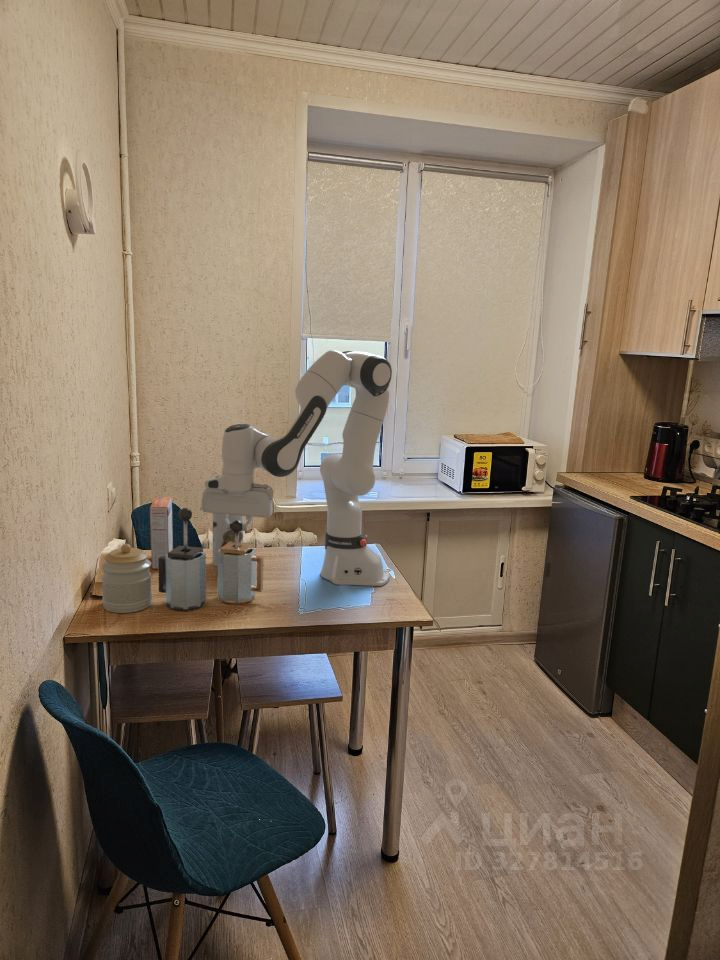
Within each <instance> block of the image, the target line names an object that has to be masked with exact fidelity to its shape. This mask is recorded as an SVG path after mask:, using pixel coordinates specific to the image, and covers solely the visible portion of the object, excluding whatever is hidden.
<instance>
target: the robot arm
mask: <svg viewBox="0 0 720 960" xmlns="http://www.w3.org/2000/svg"><path fill="white" fill-rule="evenodd" d="M392 373H393V370H392V365H391V363H390V362H389V360H387V359H386V358H385V357H383V356H381V355H379V354H372V353H370V352H365V351H351V350H347V351H346V350H345V351H338V350H333V349H331V350H327V351H326V352H325V353H323V354H322V355H321V356H320V357H318V358H317V359H316V361H315V362H313V364H311V366H309V368H308V369H307V370H306V371H305V373H304V374H303V375H302V376H301V378H300V380H299V381H298V383H297V384H296V387H295V391H294V392H295V398H296V401H297V403H298V404H299V406H300V411H299V414H298V415H297V417H296V418H295V420H294V422H292V424H291V426H290V427H289V429H288V430H287V432H286V433H285V434H284V435H283V436H281V437H280V438H278V437H275V436H272V435H269V434H267V433H264V432H261V431H259V430H258V429H256V428H255V427H253V426H252V425H251V424H248V423H238V424H234V425H230V426H229V427H226V429H225V430H224V432H223V436H222V444H221V445H222V447H221V459H222V462H223V463H222V468H221V474H220V475H216V476H213V477H211V478H209V479H207V480H205V481H204V487H205V488H204V490H203V491H202V495H201V507H200V508H201V510H202V511H203V512H204V513H210V514H213V513H218V514H221V518H222V519H223V521H224V523H225V529H230V530H231V524H232V522H229V520H228V518H227V516H229V515H240V516H244V517H245V520H246V523H244V524H243V525H242V531H243V532H248V531H249V529H250V524H251V522H252V520H253V519H254V518H263V519H264V518H265V519H268V518H270V516H272V515H273V513H274V507H273V506H274V505H273V498H274V489H273V488H272V487H271V486H270V485H269V484H265V483H264V484H261V483H260V484H259V483H254V478H255V477H254V475H255V474H254V473H255V472H254V471H255V469H256V468H260V469H262V470H264V471H266V472H268V473H269V474H271V475H272V476H274V477H278V478H282V477H287V476H290V475H291V474H292V473H294V472H295V470H296V469H297V468H298V466H299V463H300V461H301V457H302V454H303V452H304V449H305V447H306V446H307V445H308V442H309V441H310V440H311V438H312V437H313V434H314V433H315V432H316V431H317V429H318V427H319V425H320V424H321V422H322V421H323V419H324V417H325V415H326V413H327V410H328V407H329V406H330V404H331V402H332V401H333V400H334V398H335V397H336V396H337V394H338V393H339V392H340V391H341V389H342V387H344V386H348V387H351V388H353V389H355V398H354V401H353V403H352V404H351V406H350V407H351V408H350V411H349V413H348V416H347V418H346V422H345V424H344V427H343V430H342V433H341V434H342V440H343V441H342V442H343V447H342V453H332V454H328V455H326V456H325V457H324V458H323V459H322V461H321V462H320V466H319V473H320V475H321V478H322V481H323V487H324V488H323V489H324V492H325V493H324V495H325V500H326V507H327V512H326V513H327V517H326V518H327V519H326V520H327V521H326V522H327V523H326V531H325V534H324V550H325V551H324V552H325V553H324V558H323V564H322V567H321V570H320V574H319V575H320V576H321V577H322V578H323V579H326V580H327V581H330V582H331V583H332V584H334V585H340V586H341V585H342V586H343V585H344V586H370V587H371V586H372V587H373V586H374V587H375V586H376V587H377V586H378V587H380V586H383V585H385V584H387V583H388V582H389V580H390V572H389V570H387V569H386V568H385V569H384V564H383V559H382V558H381V556H380V555H379V554H378V553H377V552H375V551H374V550H373V549H372V548H370V546H369V545H368V535H367V534H365V535H364V534H363V533H362V521H363V520H362V519H363V511H362V510H363V509H362V506H361V504H360V500H359V497H361V496H362V497H363V496H366V495H367V494H369V493H371V491H372V490H373V489H374V486H375V483H376V475H375V472H374V458H375V450H376V445H377V442H378V438H379V435H380V433H381V430H382V427H383V424H384V421H385V418H386V414H387V411H388V405H389V401H390V391H389V390H388V389H389V387H390V383H391V380H392V375H393V374H392Z"/></svg>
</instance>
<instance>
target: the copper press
mask: <svg viewBox="0 0 720 960" xmlns="http://www.w3.org/2000/svg"><path fill="white" fill-rule="evenodd" d="M256 553H257V549H255V547H254V543H250V542H249V543H247V542H243V543H240V542H239V548H237V547H235V542H228V543H227V544H226V545H224V546H223V547H222V548H220V549H219V550H218V567H217V571H218V577H217V598H218V599H219V600H218V599H217V600H218V601H219V602H220V601H221V602H220V603H222V602H223V603H222V604H225V603H226V605H230V604H240V605H245V604H249V603H252V602H253V601H254V600H255V599H256V592H257V593H261V592H262V591H263V590H264V556H261V555H257V554H256ZM235 554H239V555H235Z"/></svg>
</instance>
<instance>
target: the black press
mask: <svg viewBox="0 0 720 960" xmlns="http://www.w3.org/2000/svg"><path fill="white" fill-rule="evenodd" d="M187 548H188V552H184V545H178V546H176V547H175V548H173V550H172V551H170V552H169V553H168V554H166V556H161V557H160V558H158V565H159V569H158V593H162V594H165V603H166V607H167V608H168V609H171V610H173V611H178V612H189V611H188V610H191V611H195V610H194V609H196V610H198V608H199V609H201V608H203V607H204V606H205V604H206V600H207V599H206V597H207V596H206V595H207V594H206V591H207V590H206V583H207V581H206V578H207V576H206V574H207V573H206V571H207V569H206V567H207V566H206V561H207V560H206V557H207V555H206V554H207V553H205V552H204V547H198V546H196V547H195V546H189V545H187ZM184 559H188V560H184ZM203 605H204V606H203ZM202 606H203V607H202ZM200 607H201V608H200Z"/></svg>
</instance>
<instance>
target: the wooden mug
mask: <svg viewBox="0 0 720 960" xmlns="http://www.w3.org/2000/svg"><path fill="white" fill-rule="evenodd" d="M242 539H243V540H244V533H243V534H242V533H241V532H240V533H239V542H240V543H241V540H242ZM223 540H224V541H223V542H222V546H221V548H222V547H223V546H224V545H226V544H227V543H228V542H235V532H233V531H232V530H229V531H227V532H225V533H224V534H223ZM216 577H217V578H218V570H217V571H216Z"/></svg>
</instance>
